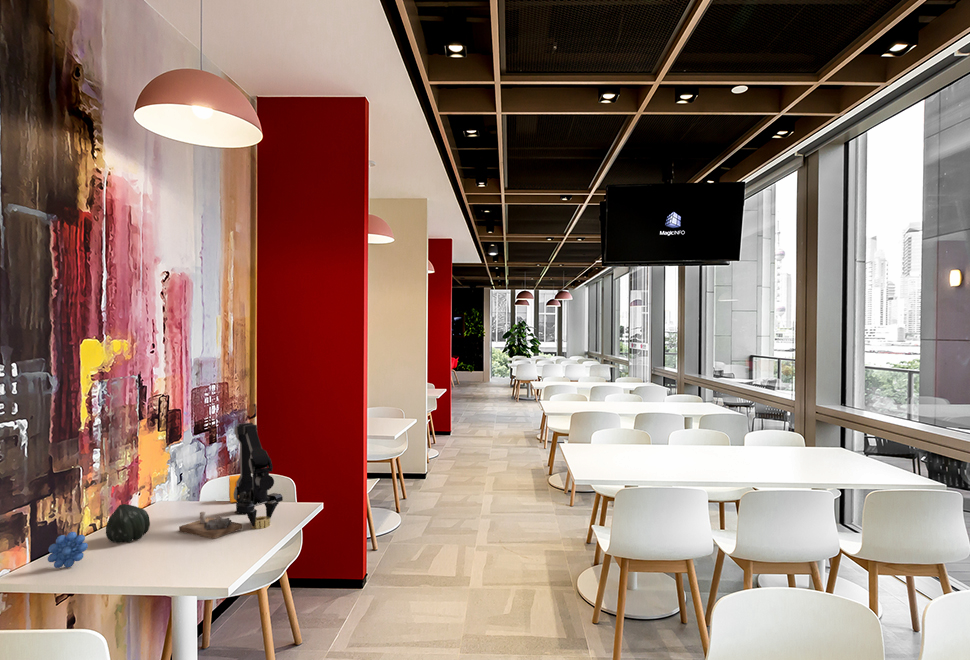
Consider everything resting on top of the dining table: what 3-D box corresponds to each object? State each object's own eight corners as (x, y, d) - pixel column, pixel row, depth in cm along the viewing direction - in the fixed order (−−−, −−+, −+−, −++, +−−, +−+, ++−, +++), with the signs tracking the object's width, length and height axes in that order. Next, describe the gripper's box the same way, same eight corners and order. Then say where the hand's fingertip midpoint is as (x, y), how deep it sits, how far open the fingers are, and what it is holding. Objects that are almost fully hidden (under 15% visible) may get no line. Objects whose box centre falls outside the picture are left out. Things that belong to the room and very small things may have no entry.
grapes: (92, 560, 201) (91, 526, 201) (85, 567, 194) (84, 532, 194) (53, 565, 197) (52, 530, 197) (44, 572, 191) (44, 536, 191)
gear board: (208, 522, 242) (208, 506, 242) (241, 528, 232) (241, 512, 232) (179, 531, 230) (179, 515, 230) (213, 538, 220) (213, 521, 220)
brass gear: (261, 522, 239) (261, 515, 239) (273, 524, 236) (273, 517, 236) (247, 527, 233) (247, 520, 233) (259, 529, 230) (259, 522, 230)
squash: (161, 516, 232) (132, 492, 229) (152, 529, 218) (121, 503, 215) (132, 543, 229) (102, 519, 226) (121, 558, 215) (89, 532, 211)
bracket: (247, 501, 272) (246, 476, 272) (230, 504, 269) (230, 478, 269) (245, 496, 281) (244, 472, 282) (229, 498, 278) (228, 474, 278)
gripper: (264, 478, 247) (265, 514, 246) (227, 488, 230) (227, 527, 230) (283, 480, 241) (283, 517, 241) (245, 491, 225) (246, 531, 225)
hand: (260, 523), depth 234 cm, fingers open, 7 cm apart
